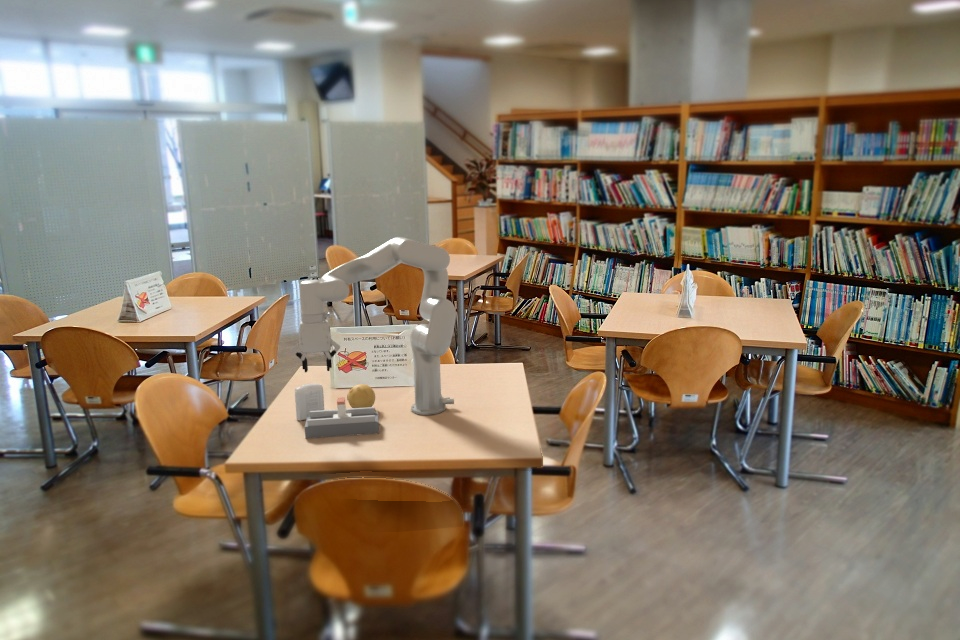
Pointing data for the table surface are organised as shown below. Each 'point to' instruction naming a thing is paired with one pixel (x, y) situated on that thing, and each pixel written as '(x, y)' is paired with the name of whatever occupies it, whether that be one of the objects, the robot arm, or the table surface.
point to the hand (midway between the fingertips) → (317, 370)
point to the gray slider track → (341, 423)
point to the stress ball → (361, 396)
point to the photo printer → (308, 399)
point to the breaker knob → (341, 408)
